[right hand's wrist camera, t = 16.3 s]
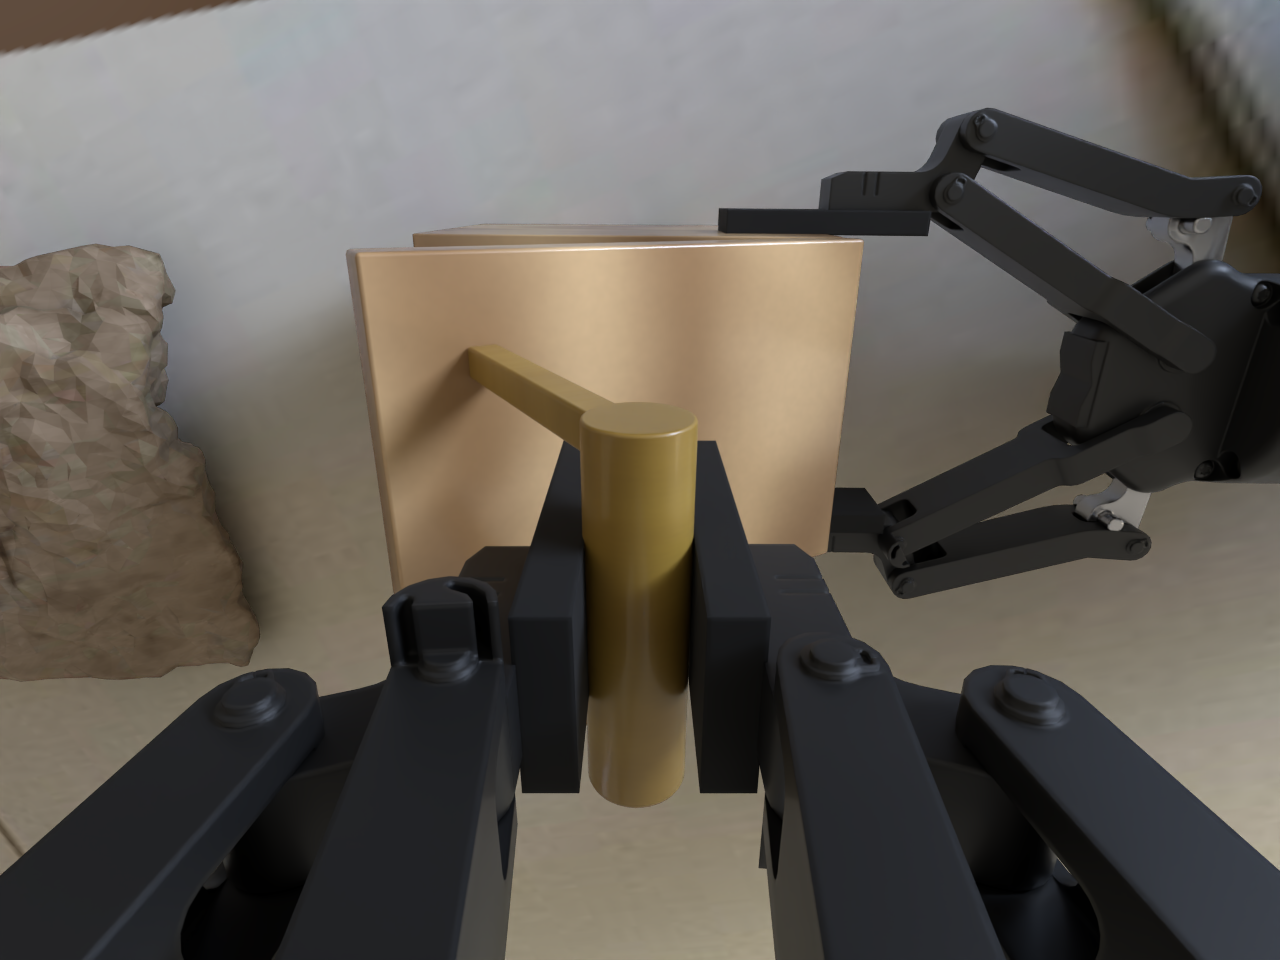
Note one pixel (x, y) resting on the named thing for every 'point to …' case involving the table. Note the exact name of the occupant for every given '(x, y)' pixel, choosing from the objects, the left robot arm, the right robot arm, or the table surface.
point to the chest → (580, 234)
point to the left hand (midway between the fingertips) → (714, 375)
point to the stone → (104, 483)
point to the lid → (607, 431)
